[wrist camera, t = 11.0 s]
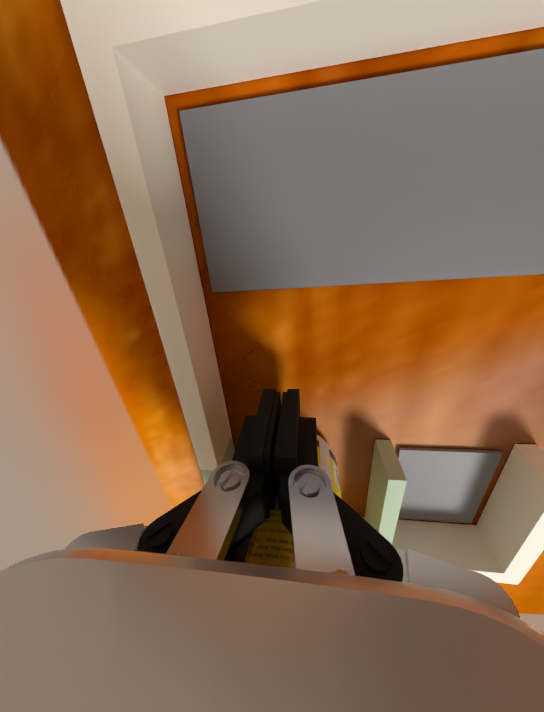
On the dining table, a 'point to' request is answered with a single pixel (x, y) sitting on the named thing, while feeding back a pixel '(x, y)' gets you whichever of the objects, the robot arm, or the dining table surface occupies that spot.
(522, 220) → the frame
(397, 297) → the dining table surface
